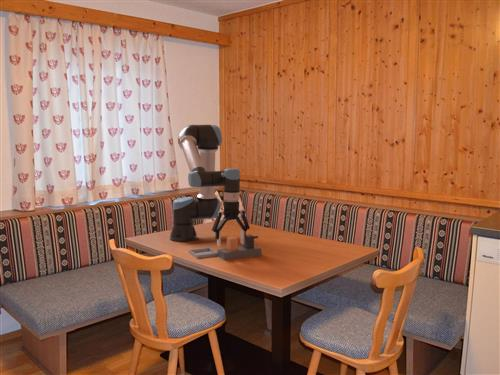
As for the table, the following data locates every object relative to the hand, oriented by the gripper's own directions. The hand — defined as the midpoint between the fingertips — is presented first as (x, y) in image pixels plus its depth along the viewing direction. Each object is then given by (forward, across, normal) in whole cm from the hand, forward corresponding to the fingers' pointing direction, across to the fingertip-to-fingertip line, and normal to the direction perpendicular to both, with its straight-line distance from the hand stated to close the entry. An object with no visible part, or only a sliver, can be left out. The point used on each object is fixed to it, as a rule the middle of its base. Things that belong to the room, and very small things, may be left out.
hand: (230, 244), depth 225 cm
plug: (+7, +1, 0) cm, 7 cm away
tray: (+7, -10, +10) cm, 16 cm away
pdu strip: (+6, +5, 0) cm, 8 cm away
